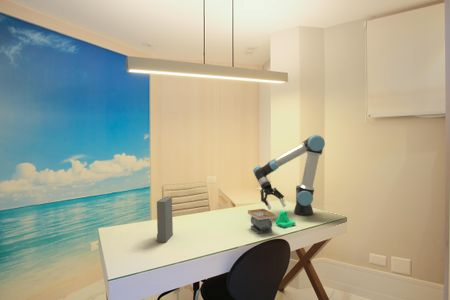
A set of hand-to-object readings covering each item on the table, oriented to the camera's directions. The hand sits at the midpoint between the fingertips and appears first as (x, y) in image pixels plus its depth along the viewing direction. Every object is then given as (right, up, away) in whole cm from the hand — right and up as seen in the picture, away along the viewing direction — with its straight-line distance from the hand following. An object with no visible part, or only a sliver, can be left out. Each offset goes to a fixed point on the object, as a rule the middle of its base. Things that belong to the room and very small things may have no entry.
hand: (277, 207), depth 200 cm
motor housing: (-14, -12, -15) cm, 24 cm away
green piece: (+5, -12, -5) cm, 14 cm away
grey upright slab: (-76, -14, -27) cm, 82 cm away
